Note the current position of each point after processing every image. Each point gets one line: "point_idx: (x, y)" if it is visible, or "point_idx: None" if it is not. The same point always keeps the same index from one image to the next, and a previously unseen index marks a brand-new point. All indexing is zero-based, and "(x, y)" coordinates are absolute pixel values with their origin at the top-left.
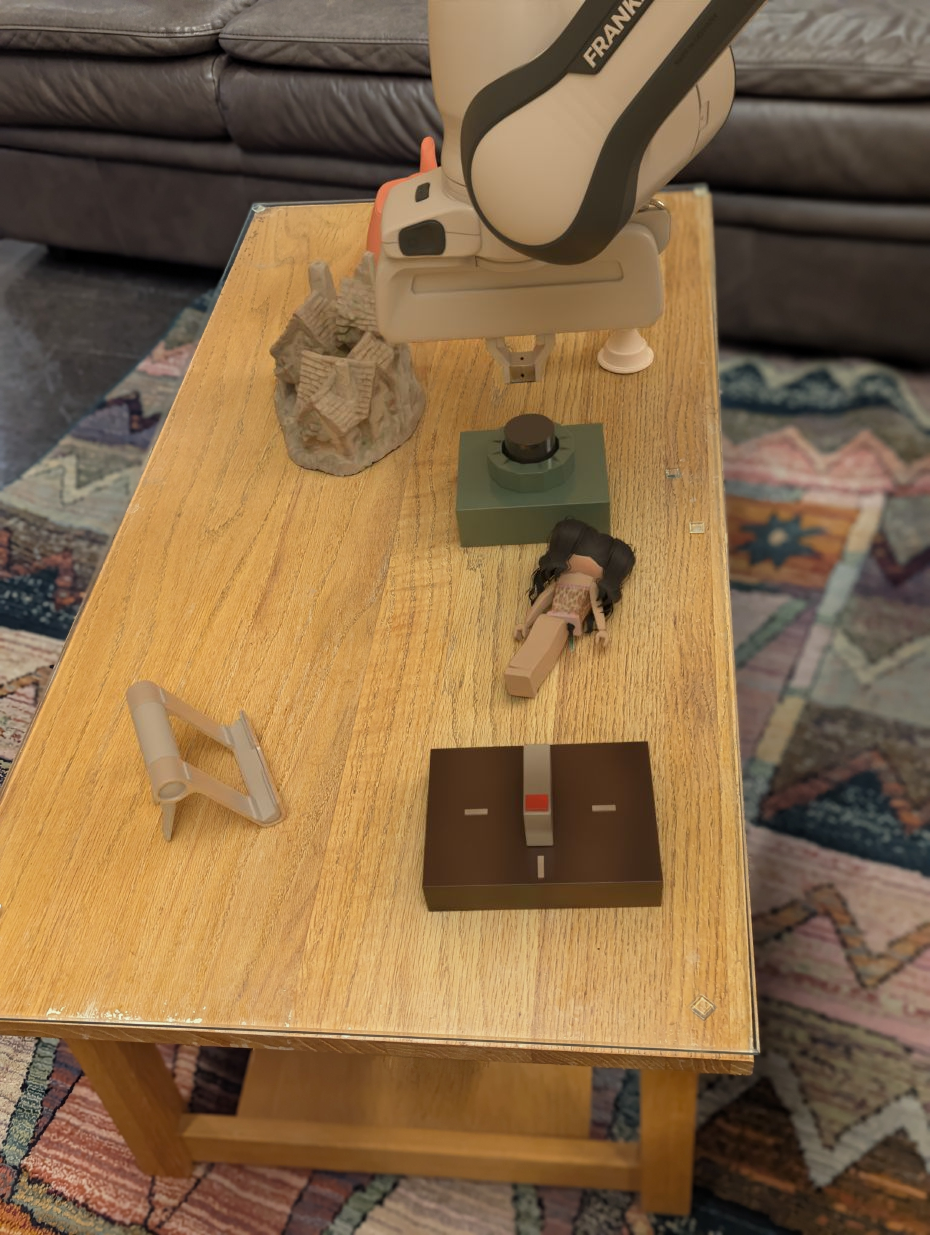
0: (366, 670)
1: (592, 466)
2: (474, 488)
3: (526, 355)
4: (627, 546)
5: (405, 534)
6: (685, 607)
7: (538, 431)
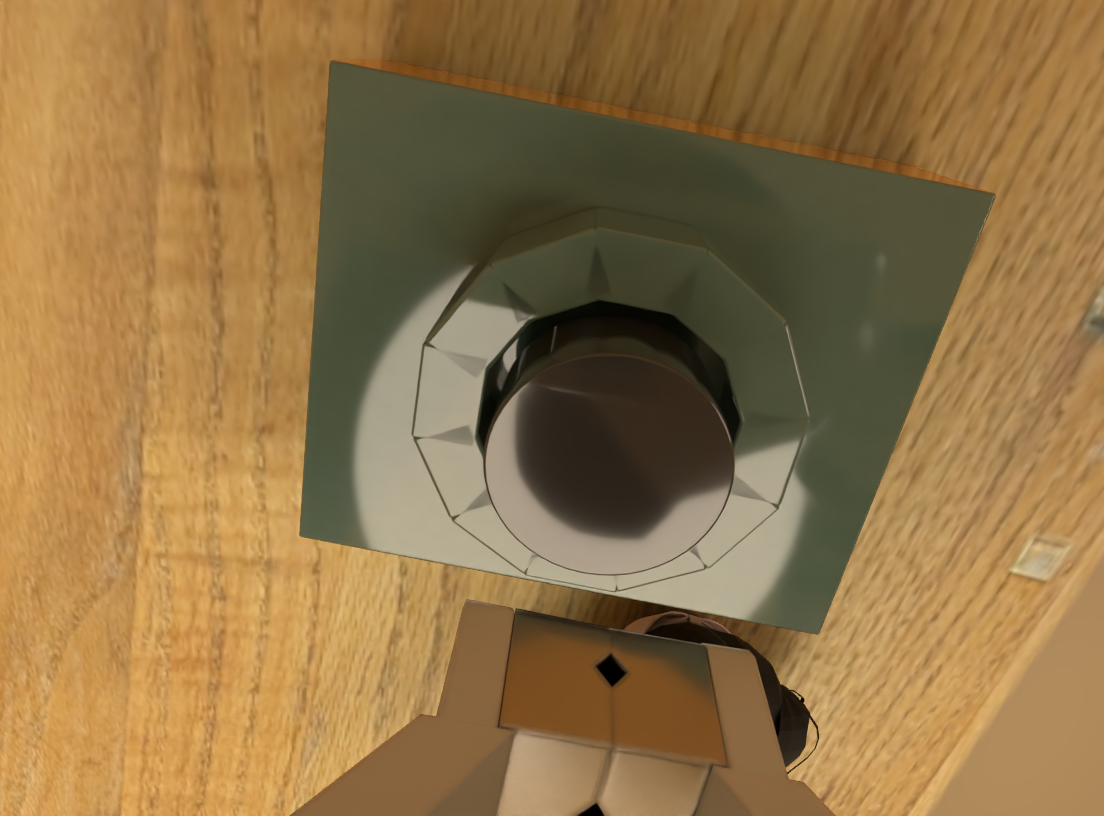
0: (125, 747)
1: (832, 459)
2: (371, 451)
3: (640, 797)
4: (797, 748)
5: (180, 356)
6: (866, 772)
7: (645, 506)
